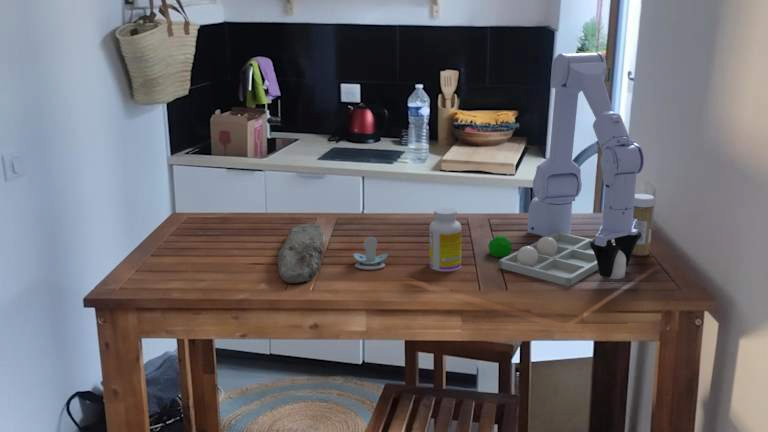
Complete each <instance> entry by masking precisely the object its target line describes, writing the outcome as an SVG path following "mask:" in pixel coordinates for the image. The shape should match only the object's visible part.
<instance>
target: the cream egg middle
mask: <svg viewBox="0 0 768 432" xmlns="http://www.w3.org/2000/svg"><path fill="white" fill-rule="evenodd" d="M537 242H538V243H537V251H538V253H539V254H541V255H545V256H550V257H551V256H553V255H554V254H555V253H556V251H557V243H556V241H555V240H554V239H553V238H551V237H543V236H542V237H541V238H539V240H537Z"/></svg>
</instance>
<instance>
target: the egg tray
mask: <svg viewBox="0 0 768 432" xmlns="http://www.w3.org/2000/svg"><path fill="white" fill-rule="evenodd" d="M548 237H551V238H553V239H554V240H555V241H556V243H557V251H556V253H555V254H554V255H553V256H551V257H550V256H545V255H541V254H539V253H538V261H537V263H536V264H535V265H534V266H532V267H529V266H525V265H521V264H520V263H519V262H518V260H517V253H518V251H519V250H517V251H515V252H513V253H510V255H508V256H507V257H501V259H500V258H499V259H498V269H501V270H505V271H509V272H512V273H517V274H521V275H524V276H529V277H531V278H536V279H538V280H539V279H540V280H542V281H543V280H544V281H546V282H551V283H555V284H558V285H562V286H566V287H568V288H569V287H571V286H573V285H575V284H576V283H578V282H580V281H582V280H583V279H585V278H587V277H588V276H590V275H592V274H593V273H595V272H597V271H599V269H598V264H597V260H596V256H595V254H594V252H593V250H592V248H591V246H590V242H591V241H592V240H593V239H592V238H587V237H583V236H578V235H573V234H570V235H569V234H565V233H560V232H556V233H554V234H552V235H550V236H548ZM537 243H538V241H535V242H534V243H531V244H530V245H528V246H531V247H533V248H535V249H536V251H537ZM613 245H615V243H613ZM537 252H538V251H537Z"/></svg>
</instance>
